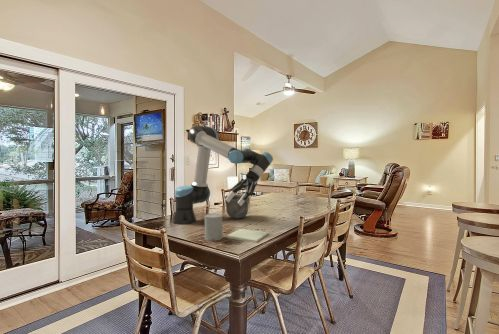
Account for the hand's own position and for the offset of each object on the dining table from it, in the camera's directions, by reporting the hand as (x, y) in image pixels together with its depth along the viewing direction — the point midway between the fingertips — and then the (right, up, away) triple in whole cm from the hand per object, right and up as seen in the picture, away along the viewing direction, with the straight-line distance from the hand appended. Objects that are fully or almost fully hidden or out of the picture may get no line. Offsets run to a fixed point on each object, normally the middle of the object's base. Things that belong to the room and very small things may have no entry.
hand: (232, 202), depth 154 cm
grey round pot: (0, -16, +42) cm, 45 cm away
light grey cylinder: (-10, -19, -5) cm, 22 cm away
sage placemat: (+8, -18, -2) cm, 20 cm away
